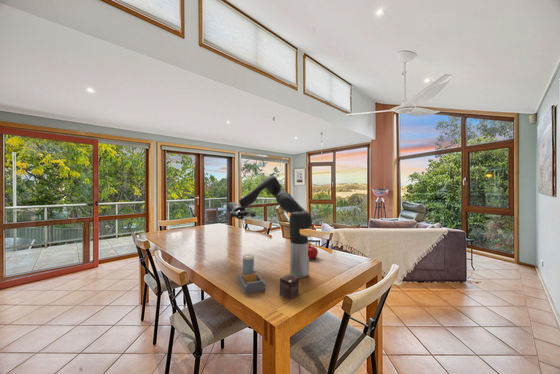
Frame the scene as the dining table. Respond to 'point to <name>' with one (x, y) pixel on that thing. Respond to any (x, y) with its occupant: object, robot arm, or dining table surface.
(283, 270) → the dining table surface
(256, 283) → the grey open tray
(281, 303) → the dining table surface
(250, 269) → the jar
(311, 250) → the pomegranate
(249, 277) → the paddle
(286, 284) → the box
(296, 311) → the dining table surface
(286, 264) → the dining table surface
